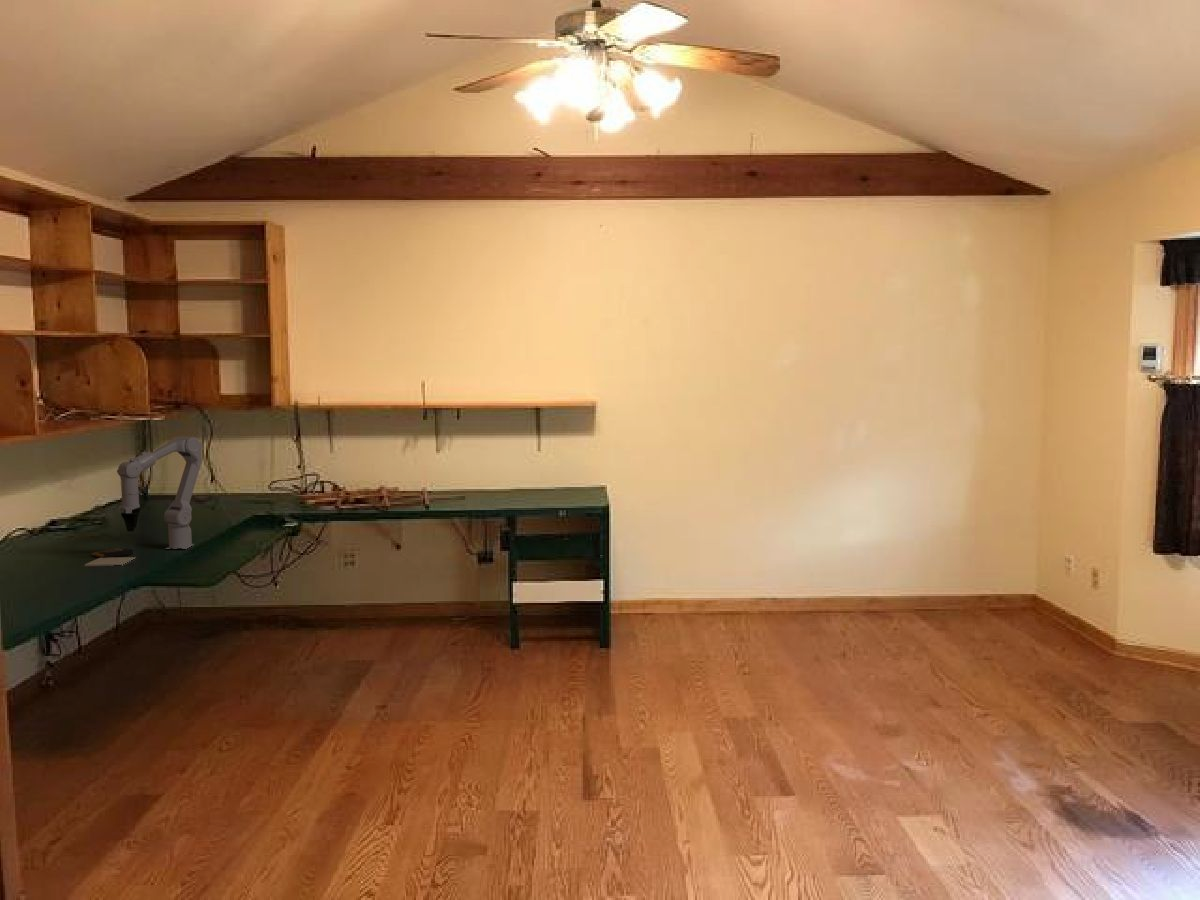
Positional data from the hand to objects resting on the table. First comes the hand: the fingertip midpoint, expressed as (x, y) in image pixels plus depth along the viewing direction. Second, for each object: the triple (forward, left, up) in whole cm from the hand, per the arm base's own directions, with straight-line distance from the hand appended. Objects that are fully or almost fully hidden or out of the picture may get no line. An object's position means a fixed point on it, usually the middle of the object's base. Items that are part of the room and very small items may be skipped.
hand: (131, 529), depth 360 cm
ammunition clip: (+1, -4, -9) cm, 10 cm away
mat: (+11, -4, -10) cm, 15 cm away
